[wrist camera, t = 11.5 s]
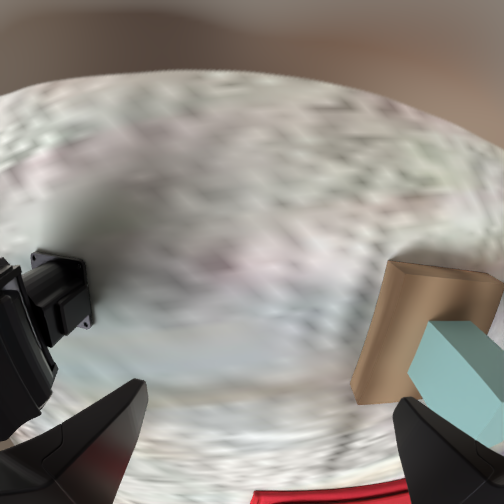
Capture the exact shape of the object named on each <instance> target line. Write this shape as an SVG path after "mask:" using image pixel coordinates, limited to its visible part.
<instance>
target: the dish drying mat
mask: <svg viewBox="0 0 504 504" xmlns="http://www.w3.org/2000/svg"><path fill="white" fill-rule="evenodd" d="M250 504H411V500H410V496H409V492H408V487H407V483H406V479H401V480H396V481H391V482H386V483H380V484H373V485H367V486H359V487H351V488H343V489H333V490H317V491H254V493H253V497H252V500H251V502H250Z"/></svg>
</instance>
